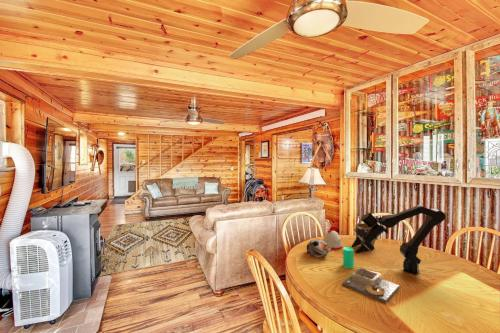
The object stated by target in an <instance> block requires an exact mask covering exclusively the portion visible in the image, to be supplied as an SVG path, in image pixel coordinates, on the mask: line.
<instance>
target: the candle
mask: <svg viewBox="0 0 500 333" xmlns="http://www.w3.org/2000/svg"><path fill="white" fill-rule="evenodd" d="M353 248H354V247H352V246H351V247H350V246H344V247H342V250H343V251H342V253H343V254H342V255H343V256H342V258H343V259H342V261H343V262H342V264H343V267H345V268H346V269H353V268H355V266H354V265H355V256H354V254H355V251H354V249H353Z"/></svg>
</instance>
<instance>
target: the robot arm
mask: <svg viewBox="0 0 500 333" xmlns="http://www.w3.org/2000/svg"><path fill="white" fill-rule="evenodd" d="M420 214H422V215H425V218H424V221H423V222H422V224H421V226H420V227H419V228H418V229H417V231H416V232H415V234H413V236H412V238H411V239H410V240H409V241H402V244H401V245H399V252H400V253H401V255H402V256H403V257H404V260H403V261H402V262H403V263H402V265H403V267H402V268H403V269H402V270H403V271H404V272H407V273H410V274H412V275H413V274H414V275H418V274H419V273H420V271H421V270H420V264H421V262H422V260H421V259H420V258H419V257H418V252H419V247H420V246H421V244H422V243H423V242H424V240H425V239H426V238H427V237H428V235H430V233H431V232H432V230H433V229H434V228H435V227H436V226H438V225H440V224H441V223H442V222H444V220H446V217H447V216H446V214H445V212H444V211H442V210H439V209H437V208H428V207H426V206H425V207H424V206H422V205H420V204H417V205H415V206H413V207H410V208H407V209H405V210H402V211H400V212H397V213H392V214H386V215H382V216H381V217H380V216H379V217H375V216H374V215H373V214H372V213H371V212H368V213H365V214H363V215H362V216H361V218H360V220H361V221H362V223H365V224H366V225H367V226H368V227H371V228H370V229H369V230H368V229H366V230H365V229H363V228H360V227H358V226H356V227H354V228H355V229H354V232H355V239H354V241H353V243H352V245H351V248H355V247H357V246H358V248H357V249H356V250H355V251H354V254H360V253H364V252H373V251H375V245H374V246H373V245H372V241H373V240H375V239H376V240H378V237H379V236H380V235H382V234H383V233H385V234H386V235H388V234H389V229H392V228H393V227H395V226H397V225H398V224H399V223H400V222H402V221H404V220H407V219H411V218H413V217H415V216H418V215H420ZM362 240H363V241H362ZM376 240H375V241H376ZM363 243H364V244H363ZM360 244H361V245H360Z"/></svg>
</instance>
